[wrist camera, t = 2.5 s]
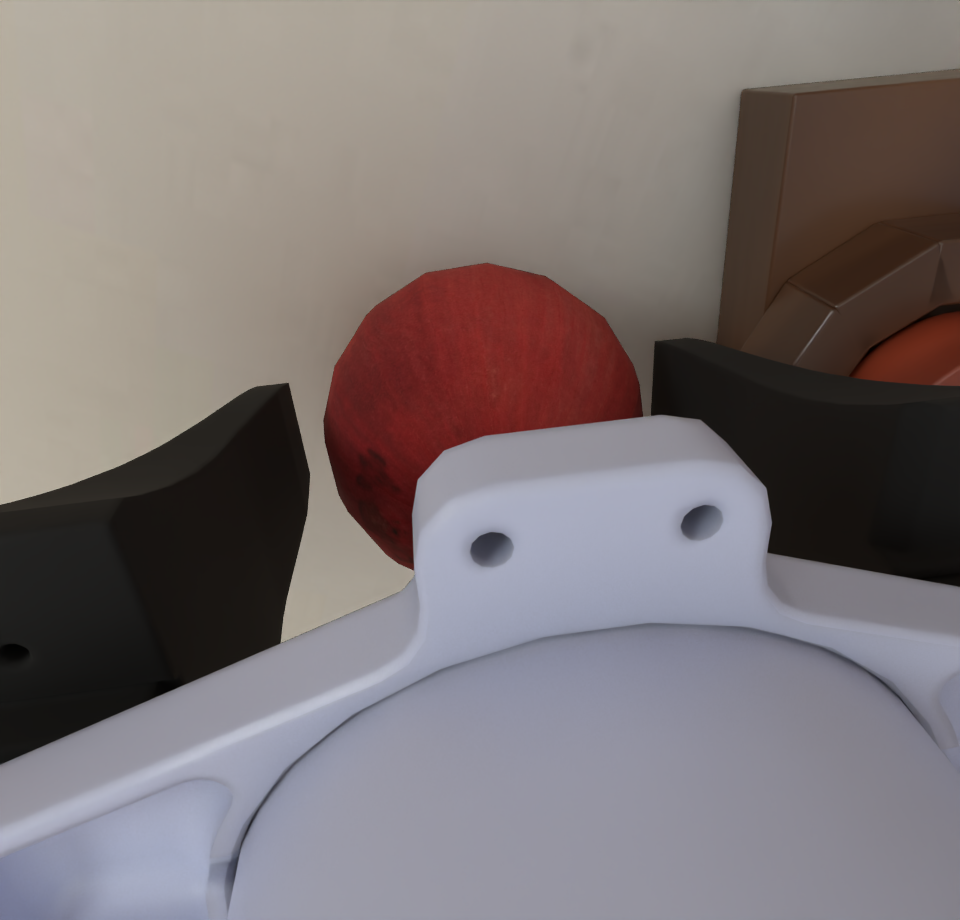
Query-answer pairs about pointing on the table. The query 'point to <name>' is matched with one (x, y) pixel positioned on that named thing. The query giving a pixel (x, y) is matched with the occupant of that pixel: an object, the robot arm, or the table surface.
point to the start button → (917, 354)
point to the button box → (842, 217)
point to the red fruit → (462, 383)
